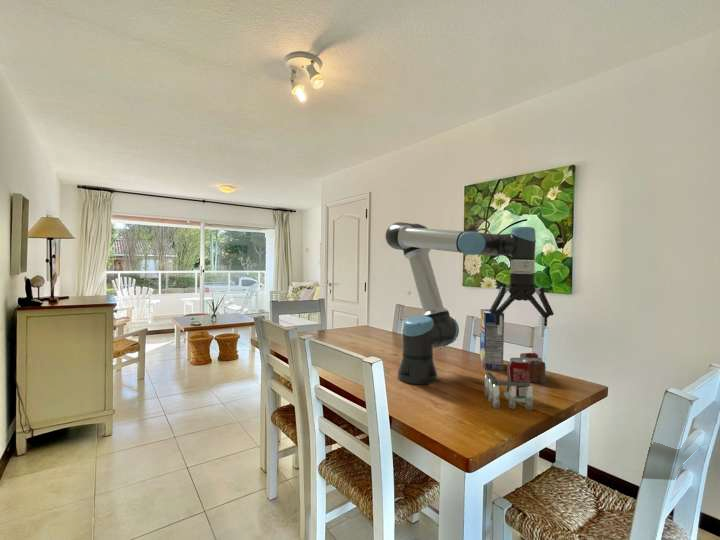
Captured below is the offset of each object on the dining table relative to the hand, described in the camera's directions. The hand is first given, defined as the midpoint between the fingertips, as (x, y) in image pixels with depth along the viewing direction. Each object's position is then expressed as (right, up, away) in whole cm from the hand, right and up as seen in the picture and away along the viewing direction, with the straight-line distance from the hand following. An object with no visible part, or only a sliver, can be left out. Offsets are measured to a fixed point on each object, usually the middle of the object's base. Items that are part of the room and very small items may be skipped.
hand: (520, 335), depth 121 cm
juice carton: (+3, -20, +35) cm, 40 cm away
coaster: (-1, -21, -2) cm, 21 cm away
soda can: (-2, -20, -2) cm, 20 cm away
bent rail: (-7, -21, -6) cm, 22 cm away
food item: (+14, -21, +20) cm, 32 cm away
